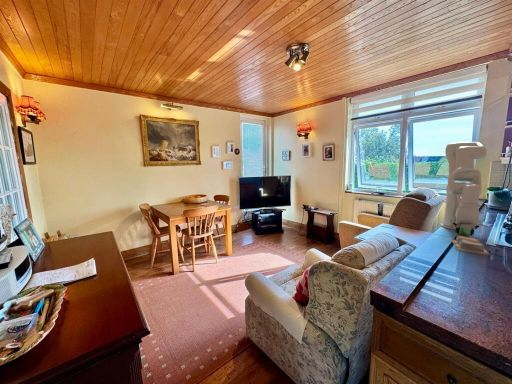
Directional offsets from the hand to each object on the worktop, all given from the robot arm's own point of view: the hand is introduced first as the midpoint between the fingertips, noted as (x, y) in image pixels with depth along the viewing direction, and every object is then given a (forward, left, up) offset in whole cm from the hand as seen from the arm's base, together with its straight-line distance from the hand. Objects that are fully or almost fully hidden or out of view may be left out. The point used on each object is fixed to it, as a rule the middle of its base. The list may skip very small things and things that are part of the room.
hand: (464, 234), depth 135 cm
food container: (0, +1, -3) cm, 3 cm away
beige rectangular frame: (+17, -1, -3) cm, 17 cm away
